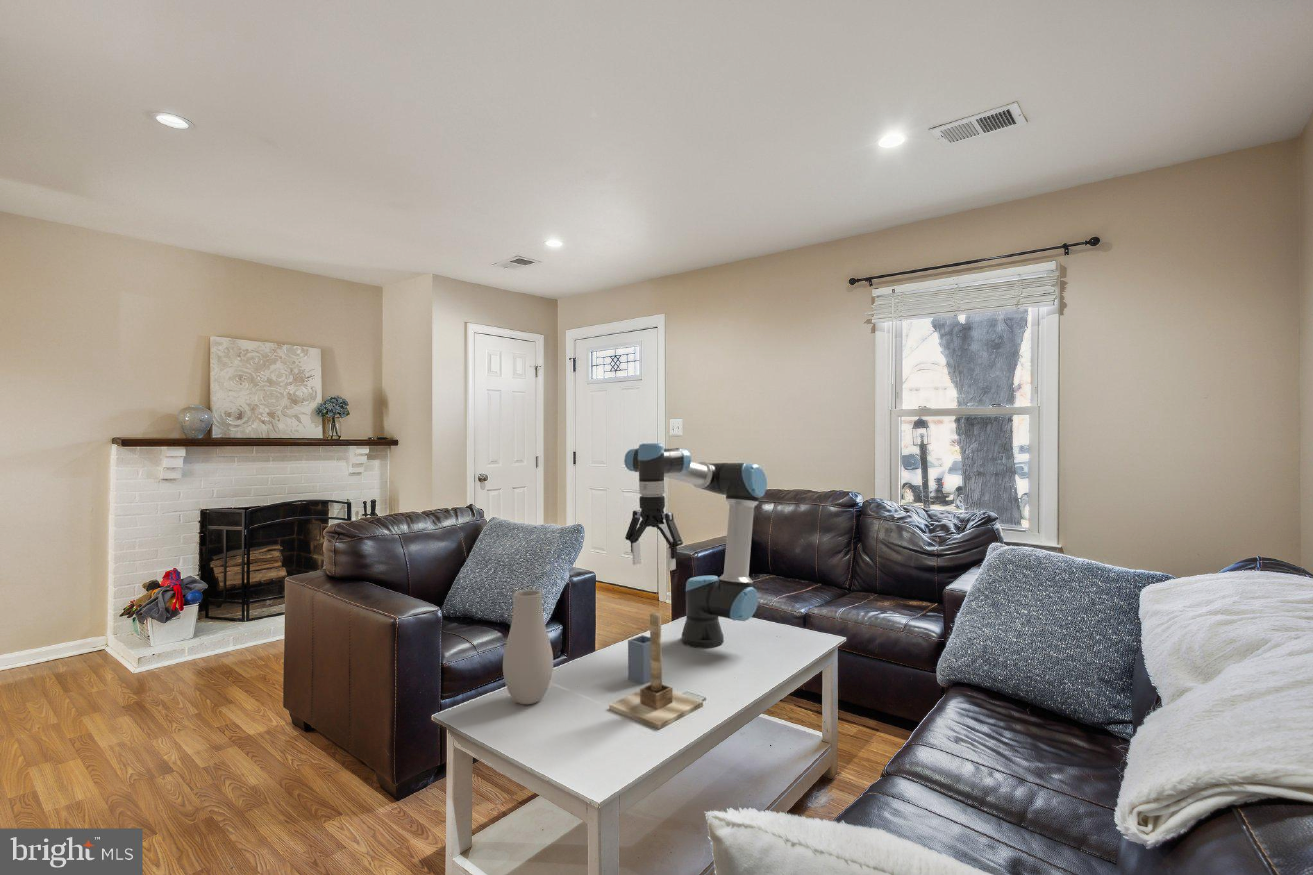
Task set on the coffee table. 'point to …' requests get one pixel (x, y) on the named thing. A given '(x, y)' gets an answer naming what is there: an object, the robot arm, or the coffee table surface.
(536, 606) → the vase
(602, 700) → the coffee table surface
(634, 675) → the grey square tube
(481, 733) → the coffee table surface
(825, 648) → the coffee table surface
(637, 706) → the board with square socket
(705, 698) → the smartphone
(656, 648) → the dowel
